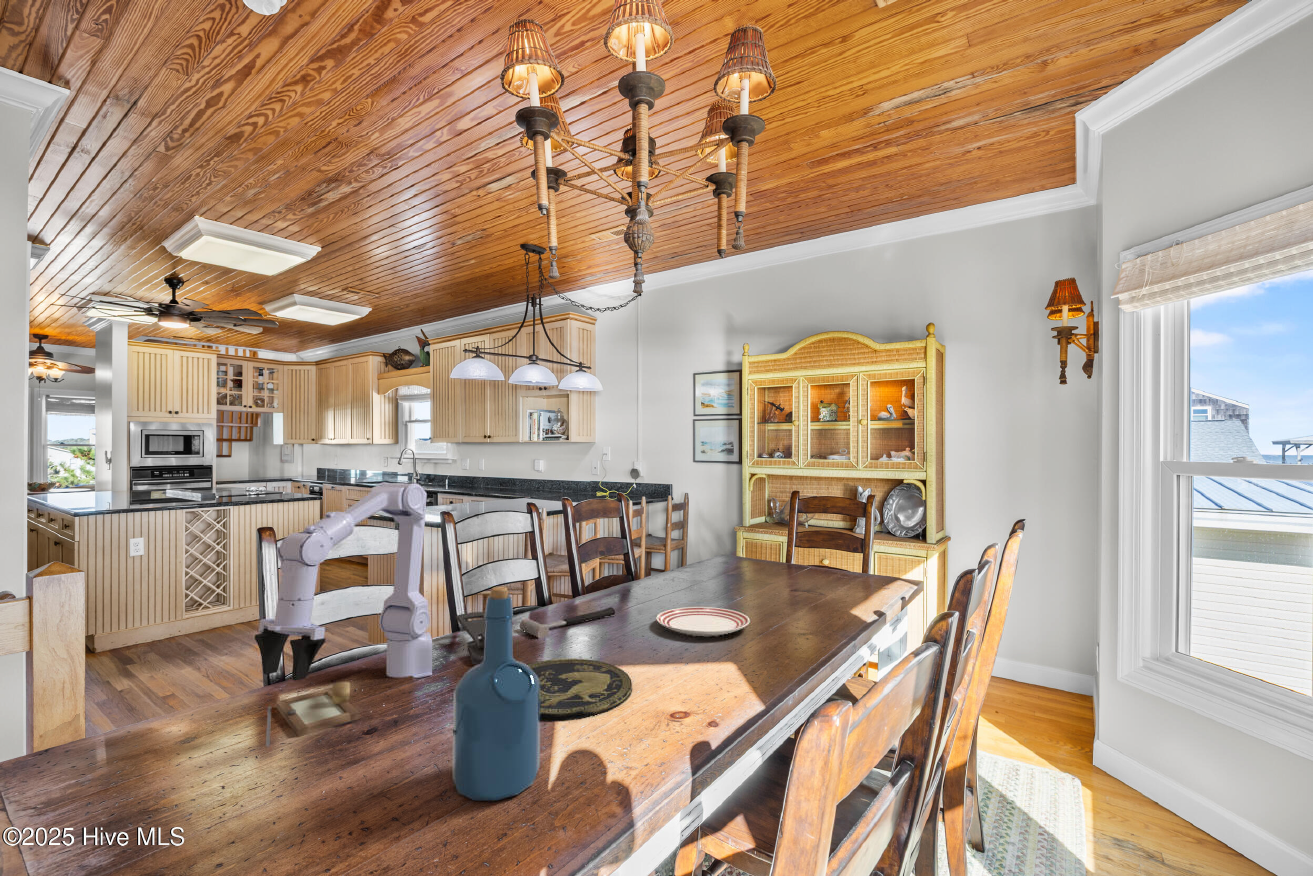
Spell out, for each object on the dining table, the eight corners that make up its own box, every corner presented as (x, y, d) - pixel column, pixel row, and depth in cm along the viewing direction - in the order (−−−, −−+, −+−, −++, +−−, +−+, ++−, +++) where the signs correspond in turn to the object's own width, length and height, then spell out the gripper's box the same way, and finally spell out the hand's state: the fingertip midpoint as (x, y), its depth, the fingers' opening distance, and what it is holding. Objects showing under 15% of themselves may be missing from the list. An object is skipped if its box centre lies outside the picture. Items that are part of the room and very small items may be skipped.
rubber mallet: (622, 609, 181) (538, 627, 160) (621, 621, 180) (537, 641, 160) (602, 603, 188) (519, 619, 167) (602, 614, 188) (519, 632, 167)
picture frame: (336, 692, 122) (336, 671, 122) (362, 717, 111) (363, 695, 111) (276, 707, 114) (276, 686, 114) (298, 736, 103) (298, 712, 103)
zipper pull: (485, 610, 164) (513, 634, 143) (485, 634, 164) (513, 662, 143) (453, 614, 160) (476, 640, 138) (452, 639, 160) (476, 669, 138)
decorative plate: (464, 705, 115) (527, 652, 145) (464, 714, 115) (527, 660, 145) (611, 721, 109) (645, 663, 139) (611, 732, 109) (645, 671, 139)
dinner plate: (644, 618, 181) (645, 608, 181) (726, 612, 189) (726, 602, 190) (674, 647, 155) (674, 635, 155) (766, 638, 163) (766, 626, 163)
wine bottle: (437, 779, 92) (440, 587, 93) (511, 749, 101) (514, 575, 102) (479, 818, 82) (482, 604, 83) (557, 781, 92) (560, 589, 92)
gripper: (247, 597, 107) (235, 674, 105) (303, 605, 102) (291, 687, 99) (284, 593, 113) (273, 667, 111) (338, 601, 108) (328, 678, 106)
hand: (284, 676), depth 106 cm, fingers open, 7 cm apart
